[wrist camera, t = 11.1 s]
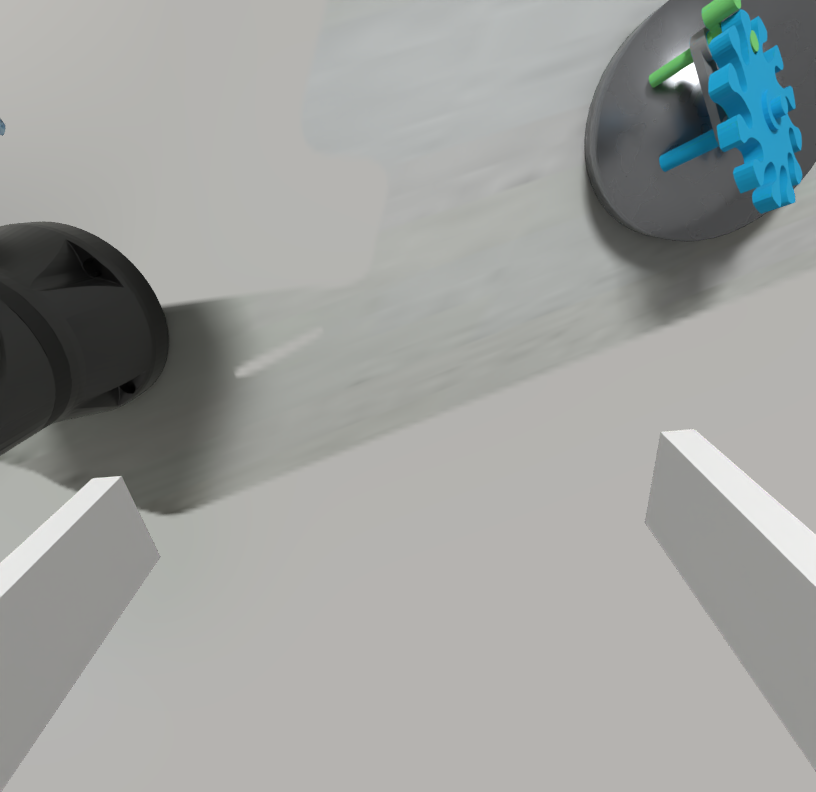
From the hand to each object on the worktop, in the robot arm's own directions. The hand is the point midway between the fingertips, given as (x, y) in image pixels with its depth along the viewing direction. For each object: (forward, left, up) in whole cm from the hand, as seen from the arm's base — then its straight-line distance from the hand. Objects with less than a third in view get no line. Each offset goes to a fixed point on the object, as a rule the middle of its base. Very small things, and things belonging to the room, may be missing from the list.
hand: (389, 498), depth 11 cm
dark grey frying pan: (+19, +12, -25) cm, 34 cm away
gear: (+18, +11, -23) cm, 31 cm away
